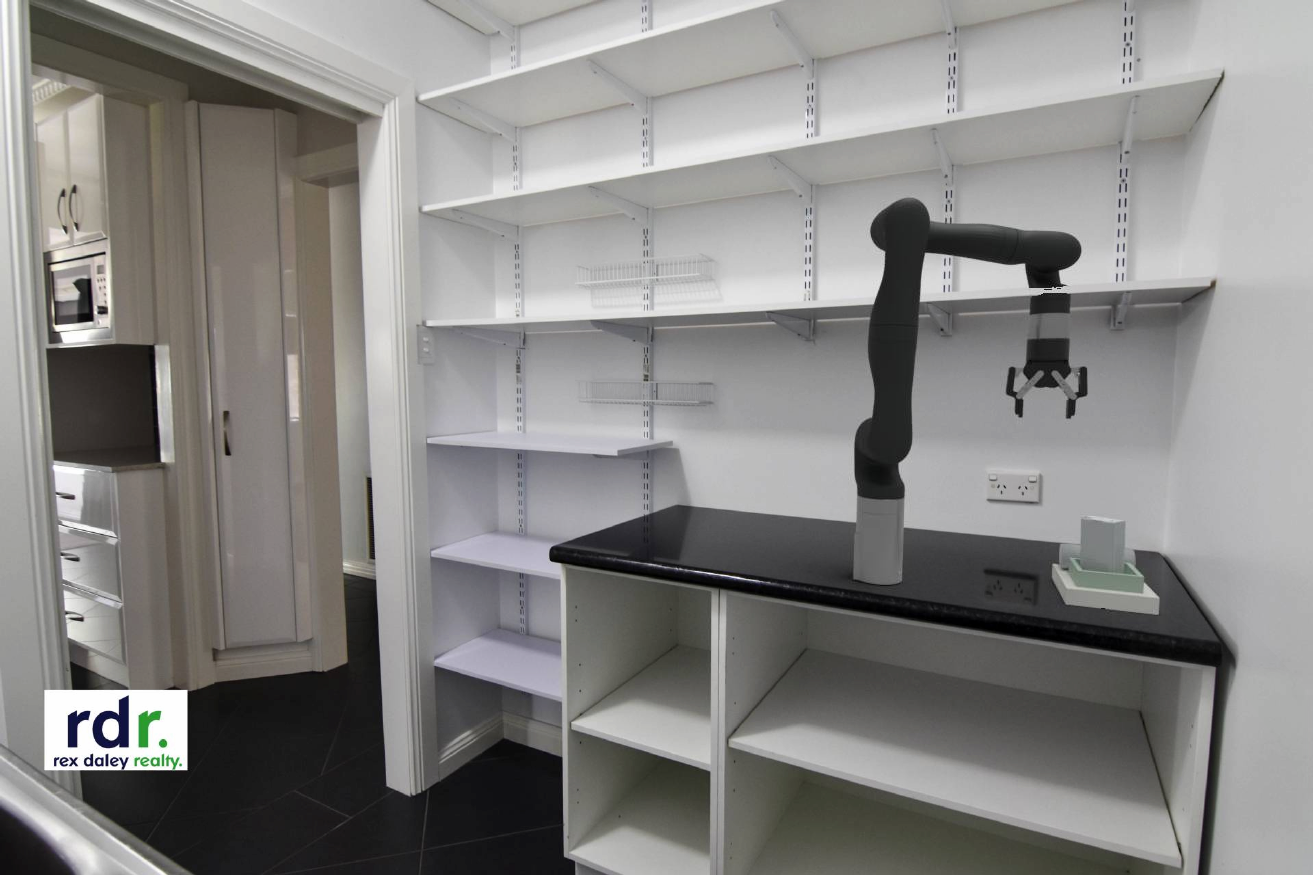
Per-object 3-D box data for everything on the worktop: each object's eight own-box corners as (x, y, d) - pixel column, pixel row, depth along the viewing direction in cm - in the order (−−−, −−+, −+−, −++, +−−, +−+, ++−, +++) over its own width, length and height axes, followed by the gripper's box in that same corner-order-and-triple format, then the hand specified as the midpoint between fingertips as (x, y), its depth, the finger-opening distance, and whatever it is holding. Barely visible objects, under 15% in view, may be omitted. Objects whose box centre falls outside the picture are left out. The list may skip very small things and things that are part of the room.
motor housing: (1065, 604, 124) (1068, 561, 123) (1051, 577, 140) (1053, 539, 140) (1158, 614, 118) (1161, 570, 118) (1132, 586, 135) (1135, 546, 134)
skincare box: (1124, 584, 126) (1128, 520, 125) (1111, 588, 124) (1115, 522, 123) (1089, 576, 131) (1093, 514, 130) (1076, 579, 129) (1080, 516, 128)
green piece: (1077, 586, 125) (1078, 570, 124) (1068, 572, 134) (1069, 557, 134) (1143, 593, 121) (1144, 577, 120) (1129, 578, 130) (1130, 562, 130)
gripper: (1010, 337, 136) (1006, 418, 137) (1093, 335, 130) (1088, 420, 132) (1006, 339, 143) (1003, 416, 144) (1086, 337, 137) (1081, 418, 138)
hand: (1044, 418), depth 138 cm, fingers open, 8 cm apart
